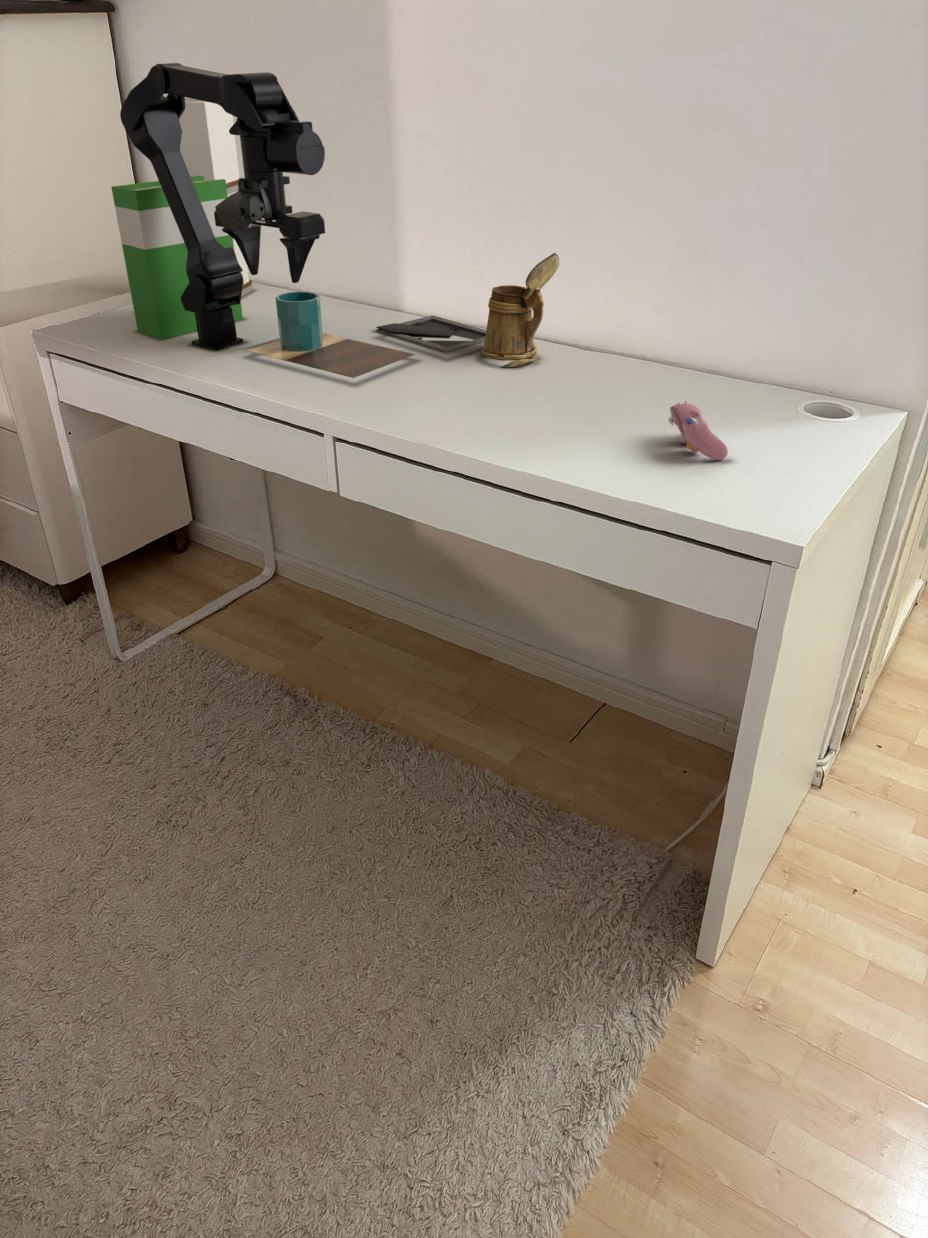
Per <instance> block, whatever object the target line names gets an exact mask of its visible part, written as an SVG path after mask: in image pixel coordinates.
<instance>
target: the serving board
mask: <svg viewBox="0 0 928 1238" xmlns="http://www.w3.org/2000/svg"><path fill="white" fill-rule="evenodd" d="M245 351H246V352H250V353H253V354H258V355H262V356H265V357H270V358H273V359H278V360H282V361H285V362H289V363H292V364H297V365H301V366H305V367H308V368H313V369H316V370H321V371H325V372H327V373H331V374H336V375H340V376H344V377H348V378H351V379H355V378H358V377H361V376H363V375H366V374H368V373H370V372H374V371H376V370H378V369H381V368H383V367H386V366H389V365H391V364H394V363H397V362H400V361H401V360H404V359H407V358H410V357H412V356H415V355H416V353H412V352H408V351H403V350H399V349H395V348H390V347H387V346H382V345H378V344H372V343H369V342H364V341H359V340H355V339H350V338H347V337H341V336H337V335H332V334H329V333H323V345H322V347H320V348H318V349H315V350H311V351H289V350H285V349H283V348H282V347H281V343H280V339H278V340H274V341H272V342H268V343H265V344H262V345H259V346H256V347H252V348H249V349H246V350H245Z"/></svg>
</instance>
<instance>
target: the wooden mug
mask: <svg viewBox="0 0 928 1238" xmlns="http://www.w3.org/2000/svg"><path fill="white" fill-rule="evenodd" d="M559 266H560V257H559V255H558V254H557V253H556V252H553V253H551V254H550V255H549V256H547V257H545V258H544V259H542V260H541V261H540V262H538V263H537V264H536V265H535V266H534V267H533V268H532V269H531V270H530V272H529V273H528V275H527V276H526V279H525V286H520V285H515V284H513V285H498V286H493V287H492V289H491V290H492V291H491V295H490V297H489V299H488V304H487V307H488V309H489V311H488V317H487V323H486V329H485V330H486V336H485V342H484V343H483V347H482V350H481V353H482V355H483V356H484V357H486V358H489V359H493V360H498V361H510V362H508V363H506V364H503V365H501V367H502V368H517V367H519V368H520V367H525V366H528V365H530V364H533V363H534V362H535V361H536V360H537V358H538V357H537V356H538V348H537V346H535V339H534V336H535V334H536V332H537V330H538V329H539V327H540V325H541V323H542V320H543V317H544V310H545V309H544V305H545V304H544V299H543V295H542V291H541V290H542V288H543V287H544V286H545V285H546V284H547V283H548V282H549V281H550V280H551V279H552V278H553V276H554V275H555V273H557V270H558V269H559Z"/></svg>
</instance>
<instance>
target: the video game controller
mask: <svg viewBox="0 0 928 1238" xmlns="http://www.w3.org/2000/svg"><path fill="white" fill-rule="evenodd" d="M669 411H670V415H671V416H668V422H669V424H670V425H672V426H674V425H675V426H676V427H677V429H678V431H679V433H680V435H681V436H682V438H683V441H684V442H685V444H686V448H687V449H688V450H690V451H691V452H692V454H694V455H695V454H697V453H699V452H700V453H701V454H702V455H704V456H705V457H708V458H709V459H711V460H713V461H722V460H725V459H726V458H727V456H728V452H729V450H728V447H727V445H726V444H725V442H723V441H722V440H721V439H719V438H718V436H716V435H715V434H714V433H713V431H711V430H710V428H709V425H708V423H707V421H706V419H704V418H703V414H702V410H701V409H700V408H699V407H698V406H697V405H695V404H692V403H688V401H687V400H684V401H683V402H678V403H676V404H674V405H671V406H670V407H669Z"/></svg>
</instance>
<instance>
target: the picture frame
mask: <svg viewBox="0 0 928 1238" xmlns="http://www.w3.org/2000/svg"><path fill="white" fill-rule="evenodd" d="M376 333H379V334H383V335H386V336H390V337H393V338H395V339H398V340H402V341H406V342H409V343H412V344H416V345H418V346H422V347H425V348H428V349H431V350H435V351H439V352H440V353H441V352H442V353H444V354H449V353H453V352H457V351H459V350H464V349H467V348H470V347H474V346H477V345H481V344H484V343H485V336H486V329H485V328H481V327H477V326H473V325H469V324H466V323H462V322H459V321H455V320H451V319H448V318H443V317H440V316H436V315H434V314H432V315H427V316H424V317H420V318H416V319H415V318H414V319H412V320H408V321H403V322H400V323H396V322H394V323H388V324H383V325H377V326H376ZM411 335H418V336H430V337H431V336H432V337H444V338H451V337H452V336H456V337H460V338H464V339H469V340H434V339H433V340H426V339H425V340H424V339H423V337H416V336H415V337H414V336H411Z"/></svg>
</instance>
